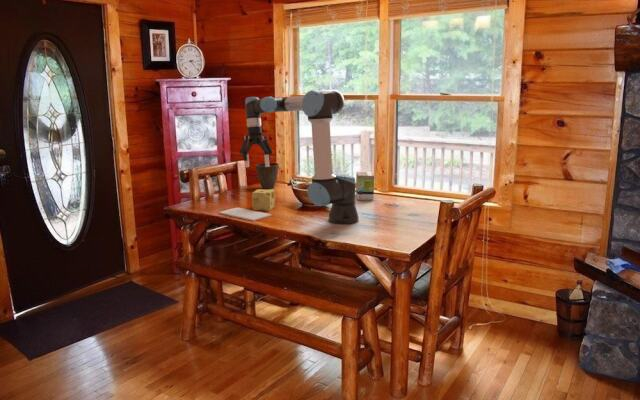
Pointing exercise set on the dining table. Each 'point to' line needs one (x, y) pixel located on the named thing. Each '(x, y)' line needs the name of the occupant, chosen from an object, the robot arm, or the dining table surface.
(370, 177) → the tea box
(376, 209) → the dining table surface
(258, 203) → the cheese
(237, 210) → the mat
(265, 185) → the plant pot
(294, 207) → the dining table surface
